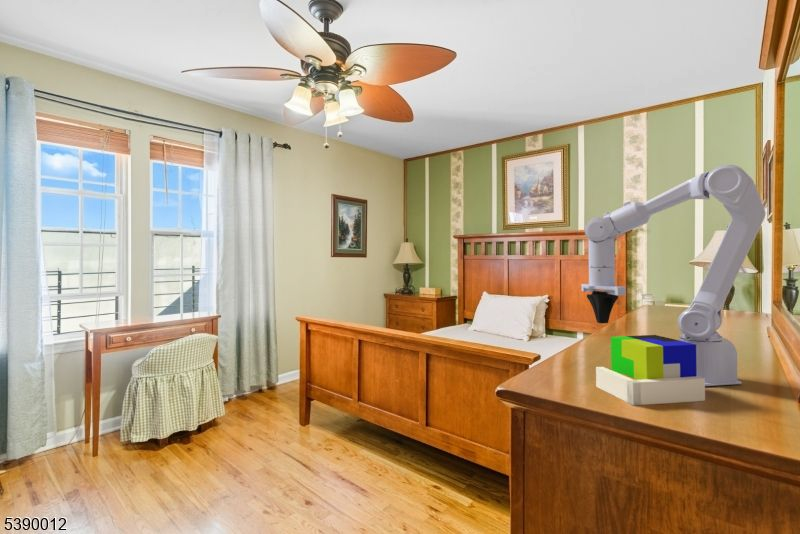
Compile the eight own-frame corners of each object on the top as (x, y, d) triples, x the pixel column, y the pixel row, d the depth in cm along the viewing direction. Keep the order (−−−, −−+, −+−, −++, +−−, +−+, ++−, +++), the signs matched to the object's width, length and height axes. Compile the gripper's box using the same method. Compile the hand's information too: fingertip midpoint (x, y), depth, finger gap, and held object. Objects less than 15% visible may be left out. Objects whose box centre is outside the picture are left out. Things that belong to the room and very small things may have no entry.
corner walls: (659, 382, 82) (659, 363, 82) (705, 400, 71) (704, 378, 71) (596, 386, 80) (595, 367, 80) (633, 405, 70) (632, 382, 70)
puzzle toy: (696, 398, 73) (696, 344, 73) (647, 401, 72) (646, 346, 72) (655, 382, 83) (655, 334, 83) (611, 384, 82) (610, 336, 81)
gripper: (570, 267, 103) (571, 319, 103) (604, 268, 89) (605, 328, 89) (595, 266, 104) (596, 318, 104) (634, 267, 89) (634, 327, 90)
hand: (602, 322), depth 96 cm, fingers closed
